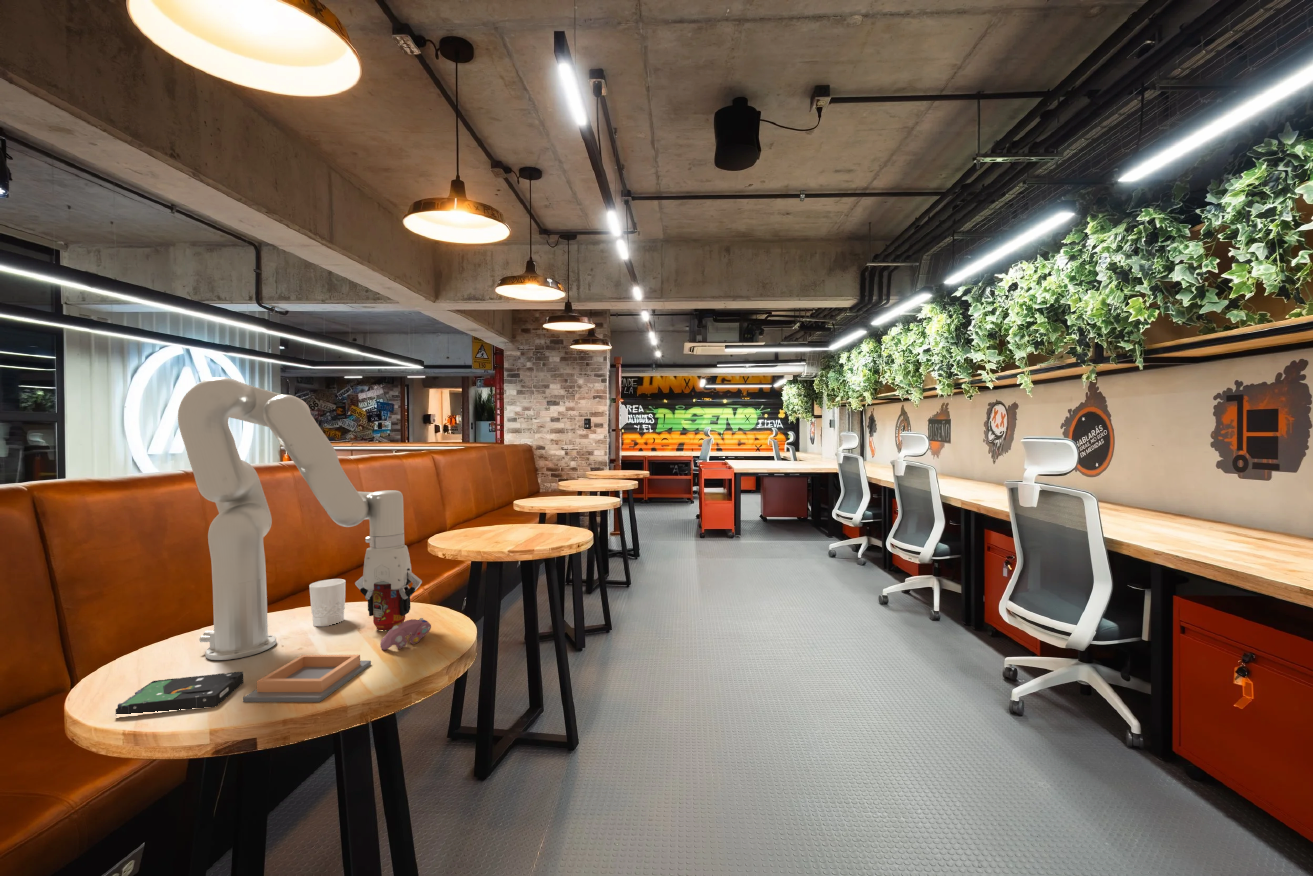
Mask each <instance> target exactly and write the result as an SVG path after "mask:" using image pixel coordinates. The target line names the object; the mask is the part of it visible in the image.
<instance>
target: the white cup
mask: <svg viewBox="0 0 1313 876" xmlns="http://www.w3.org/2000/svg"><path fill="white" fill-rule="evenodd" d="M308 586H309V587H308V588H309V596H310V597H309V598H310V608H311V614H312V625H313V626H315V627H320V628H321V627H329V625H331V626H333V625H332V624H335V625H337V624H336V623H338V624H340V623H342V622H343V621H344V619H345V608H346V579H342V578H331V579H323V580H318V581H315V582H312V583H310V584H309V585H308ZM341 621H342V622H341ZM339 622H340V623H339Z"/></svg>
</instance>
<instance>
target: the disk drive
mask: <svg viewBox="0 0 1313 876" xmlns="http://www.w3.org/2000/svg"><path fill="white" fill-rule="evenodd" d="M243 684H244V671H231V672H227V673H225V672H223V673H217V674H215V673H214V674H207V675H204V674H203V675H193V676H186V677H180V678H179V677H176V678H167V679H158V680H152V681H151V682H150V683H148V684H147V685H145V686H143V687H142V688H140V689H138V690H137V691H135V692H134V694H133V695H132V696H129V697H128V698H127V699H125V700H124V701H123V702H119V703H118V704H117V708H116V709H115V715H116V714H131V713H143V712H155V711H157V712H158V711H169V710H179V709H180V710H181V709H192V708H204V707H211V708H216V707H218V704H219V705H220V704H221V703H222V702H224V700H226V697H227V698H228V697H229V696H230V695H232V694H233V693H234V692H235V691H236V690H237V689H238V688H239V687H241V685H243ZM215 706H216V707H215ZM204 709H205V708H204Z"/></svg>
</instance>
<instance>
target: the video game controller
mask: <svg viewBox="0 0 1313 876" xmlns="http://www.w3.org/2000/svg"><path fill="white" fill-rule="evenodd" d="M431 629H432V625H431V623H430V622H429V621H428V620H426V619H424V617H420V618H418V619H413V618H412V619H408V620H404V622H403V623H401V624H399V625H398V626H397V625H396V626H394V627H393V628H392V629H390V630H389V631H387V632H386V634H385V635H384V637H383V638H382V639H381V640H380V644H379V646H380V649H382V650H385V651H386V650H389V648H391V647H392V646H396V649H399V648H400V649H402V647H403V648H404V647H406V646H407V645H408V641H409V642H410V643H411V644H412V645H414V643H415V644H418V643H419V642H420V641H421V639H422V638H424V637H425V636H426V635H427V634H428V633H429V632H430V631H431ZM408 636H409V637H408ZM406 637H408V640H407V639H406Z"/></svg>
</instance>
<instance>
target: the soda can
mask: <svg viewBox="0 0 1313 876" xmlns="http://www.w3.org/2000/svg"><path fill="white" fill-rule="evenodd" d="M401 599H402V597H401V595H400V593H399V590H392V589H391V584H390V583H389V582H385V581H381V582H376V583H374V590H373V616H372V618H373V620H372V621H373V624H374V626H375V628H376V630H377V629H378V630H383V631H382V632H386V631H385V630H390V629H392V628H393V627H394V626H396V625H397V626H398V625H399V624H401V623H403V622H404V621H406V615H404V616H401V615H400V600H401ZM378 630H377V631H378Z"/></svg>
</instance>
